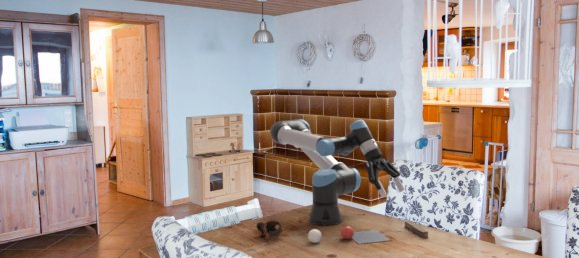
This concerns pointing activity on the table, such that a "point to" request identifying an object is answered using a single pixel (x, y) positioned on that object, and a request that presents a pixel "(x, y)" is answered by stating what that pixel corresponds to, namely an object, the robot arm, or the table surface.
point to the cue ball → (314, 235)
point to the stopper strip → (416, 229)
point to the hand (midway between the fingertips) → (393, 193)
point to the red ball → (347, 232)
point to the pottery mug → (269, 229)
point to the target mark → (369, 237)
